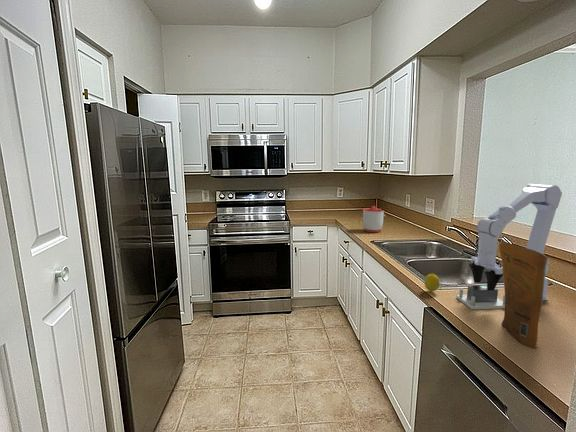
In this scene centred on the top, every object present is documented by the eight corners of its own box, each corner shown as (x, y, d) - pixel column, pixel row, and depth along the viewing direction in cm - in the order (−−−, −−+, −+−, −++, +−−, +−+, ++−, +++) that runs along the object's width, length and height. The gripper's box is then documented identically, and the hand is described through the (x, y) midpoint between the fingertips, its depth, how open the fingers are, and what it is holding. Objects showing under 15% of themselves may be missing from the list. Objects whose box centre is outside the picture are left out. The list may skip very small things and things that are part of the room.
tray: (490, 296, 126) (491, 287, 125) (509, 308, 116) (510, 297, 115) (456, 297, 125) (457, 287, 124) (472, 309, 115) (473, 298, 115)
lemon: (426, 288, 134) (427, 270, 133) (440, 291, 131) (441, 272, 130) (422, 292, 130) (423, 273, 129) (436, 295, 127) (438, 276, 125)
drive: (489, 297, 123) (490, 285, 122) (496, 302, 119) (498, 289, 118) (466, 298, 122) (467, 285, 121) (473, 302, 118) (474, 289, 117)
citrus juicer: (388, 233, 237) (389, 206, 234) (365, 233, 237) (366, 207, 233) (381, 229, 253) (382, 204, 249) (359, 229, 252) (360, 204, 249)
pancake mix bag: (522, 351, 90) (535, 254, 85) (488, 318, 108) (497, 238, 104) (548, 352, 89) (562, 255, 84) (509, 319, 108) (519, 238, 103)
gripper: (464, 246, 124) (461, 279, 126) (490, 257, 110) (486, 294, 112) (482, 245, 125) (479, 278, 127) (509, 256, 110) (505, 293, 113)
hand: (483, 286), depth 120 cm, fingers open, 7 cm apart
